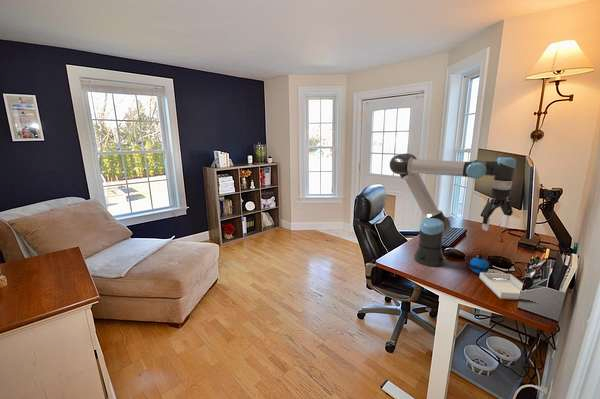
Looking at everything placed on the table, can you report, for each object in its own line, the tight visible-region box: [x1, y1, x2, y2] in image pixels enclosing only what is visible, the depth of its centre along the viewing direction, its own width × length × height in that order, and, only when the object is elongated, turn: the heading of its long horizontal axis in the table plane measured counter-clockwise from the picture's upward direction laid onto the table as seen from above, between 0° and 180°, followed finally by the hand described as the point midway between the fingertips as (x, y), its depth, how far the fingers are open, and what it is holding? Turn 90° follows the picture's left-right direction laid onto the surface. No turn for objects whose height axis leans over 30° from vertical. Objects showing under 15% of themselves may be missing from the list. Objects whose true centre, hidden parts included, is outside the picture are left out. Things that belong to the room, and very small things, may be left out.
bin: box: [478, 272, 524, 301], centre depth 120 cm, size 14×18×3 cm
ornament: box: [468, 254, 490, 275], centre depth 133 cm, size 9×9×10 cm
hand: (494, 228), depth 137 cm, fingers open, 13 cm apart
